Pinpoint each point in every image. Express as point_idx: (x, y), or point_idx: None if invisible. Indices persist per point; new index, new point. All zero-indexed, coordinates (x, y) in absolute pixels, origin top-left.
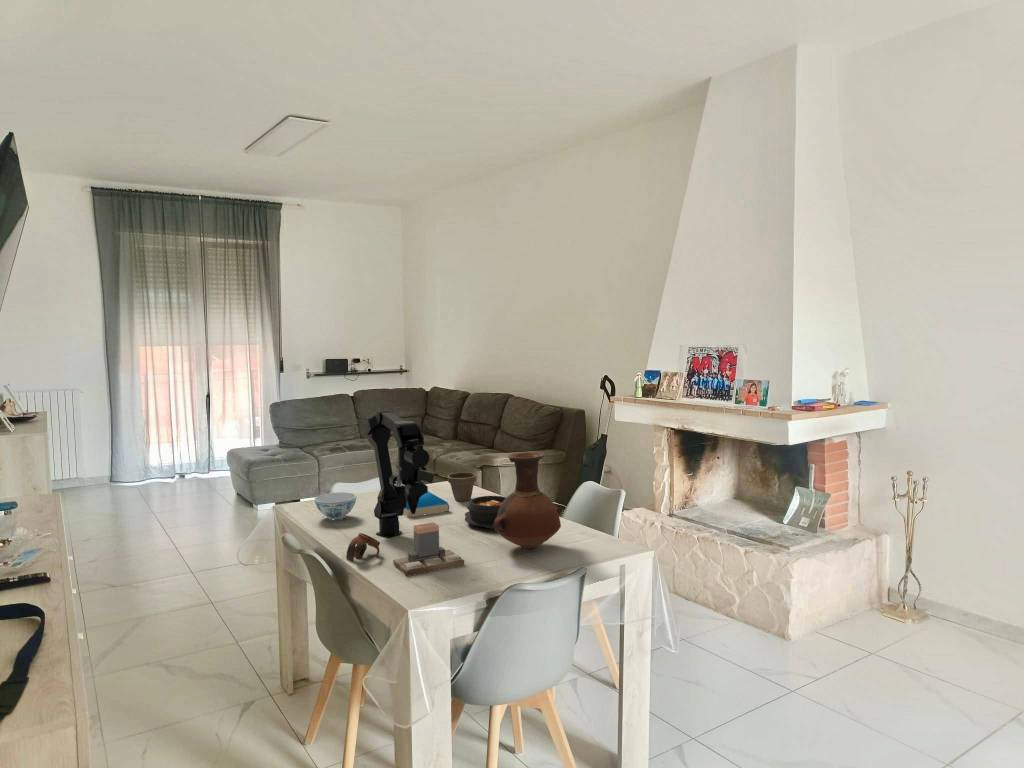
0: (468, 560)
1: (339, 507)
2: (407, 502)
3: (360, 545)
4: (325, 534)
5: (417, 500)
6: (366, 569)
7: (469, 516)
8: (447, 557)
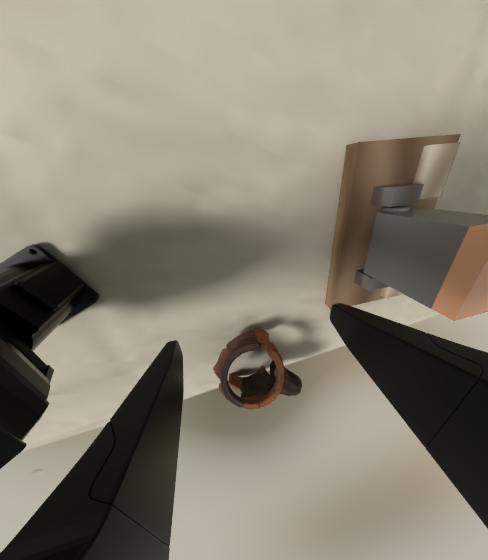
0: (426, 102)
1: None
2: (399, 408)
3: (300, 388)
4: (35, 428)
5: (476, 361)
6: (317, 346)
7: None
8: (430, 186)
